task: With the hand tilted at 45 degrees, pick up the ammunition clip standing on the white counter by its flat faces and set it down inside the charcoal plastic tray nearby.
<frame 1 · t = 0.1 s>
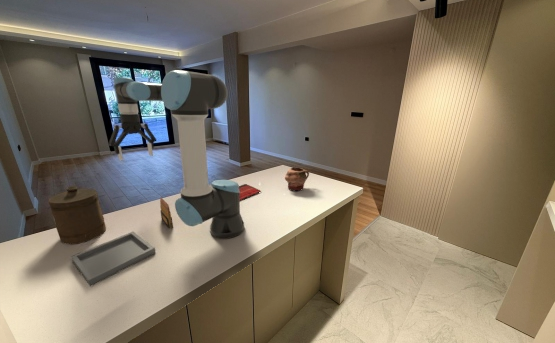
hand: (136, 157, 109), 28 cm above the kitchen island, tool pointing down, fingers open, 13 cm apart
ammunition clip: (167, 223, 104), on the kitchen island
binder: (242, 194, 141), on the kitchen island
tray: (115, 257, 81), on the kitchen island
brown ceramic jug: (297, 188, 151), on the kitchen island
wooden container: (84, 234, 94), on the kitchen island
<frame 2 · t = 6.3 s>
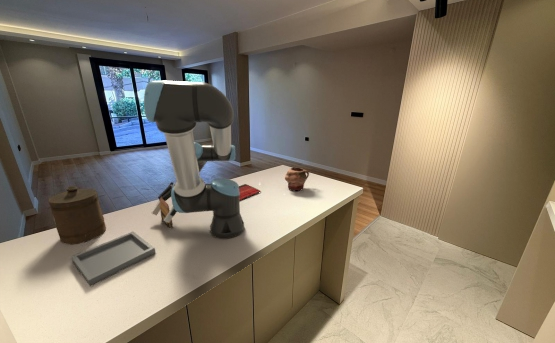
hand: (159, 217, 101), 4 cm above the kitchen island, tool tilted 45°, fingers closed on ammunition clip, 10 cm apart
ammunition clip: (167, 223, 104), on the kitchen island, touching gripper
everything else where it was.
when the fingers open (6 cm above the kitchen island, at t = 13.4 s): ammunition clip moves 1 cm, resting on tray.
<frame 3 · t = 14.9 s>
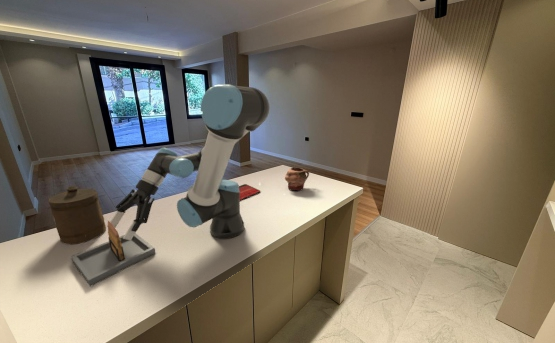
hand: (118, 233, 83), 8 cm above the kitchen island, tool tilted 40°, fingers open, 13 cm apart
ammunition clip: (117, 254, 82), resting on tray
everything else where it was.
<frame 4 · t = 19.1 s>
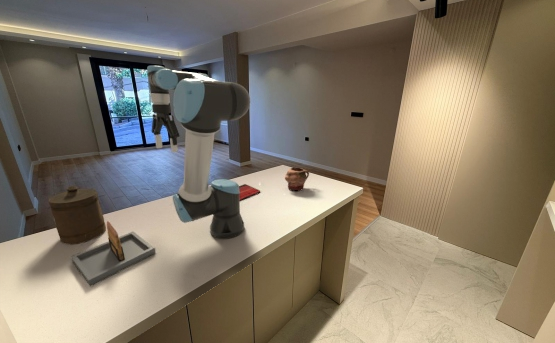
hand: (166, 149, 106), 33 cm above the kitchen island, tool pointing down, fingers open, 13 cm apart
nothing on the kitchen island moved.
at the end: ammunition clip inside the target area on the tray (1.3 cm from its centre), point 0.4 cm above the tray's base; ammunition clip touching tray; the gripper is holding nothing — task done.
